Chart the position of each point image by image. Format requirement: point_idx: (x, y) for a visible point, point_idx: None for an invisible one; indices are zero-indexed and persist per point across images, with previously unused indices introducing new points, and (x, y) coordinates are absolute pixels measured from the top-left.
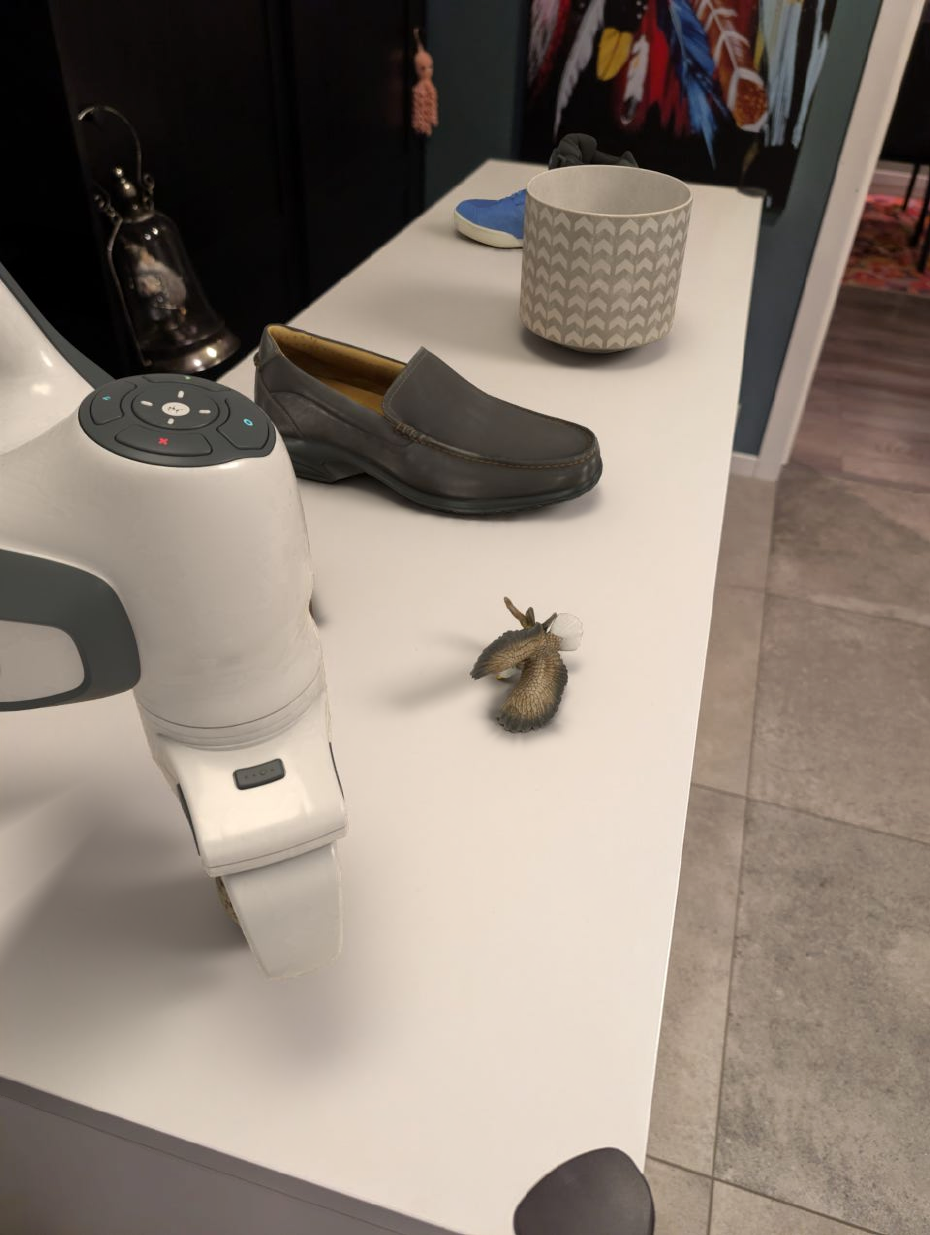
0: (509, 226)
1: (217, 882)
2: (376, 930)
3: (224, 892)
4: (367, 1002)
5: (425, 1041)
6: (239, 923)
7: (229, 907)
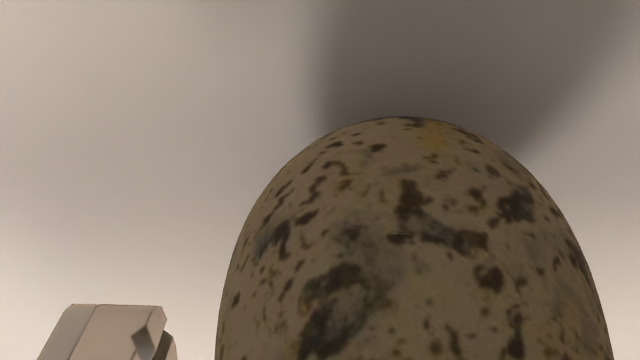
0: None
1: (382, 236)
2: None
3: (312, 256)
4: (116, 282)
5: (32, 335)
6: (287, 170)
7: (297, 206)
